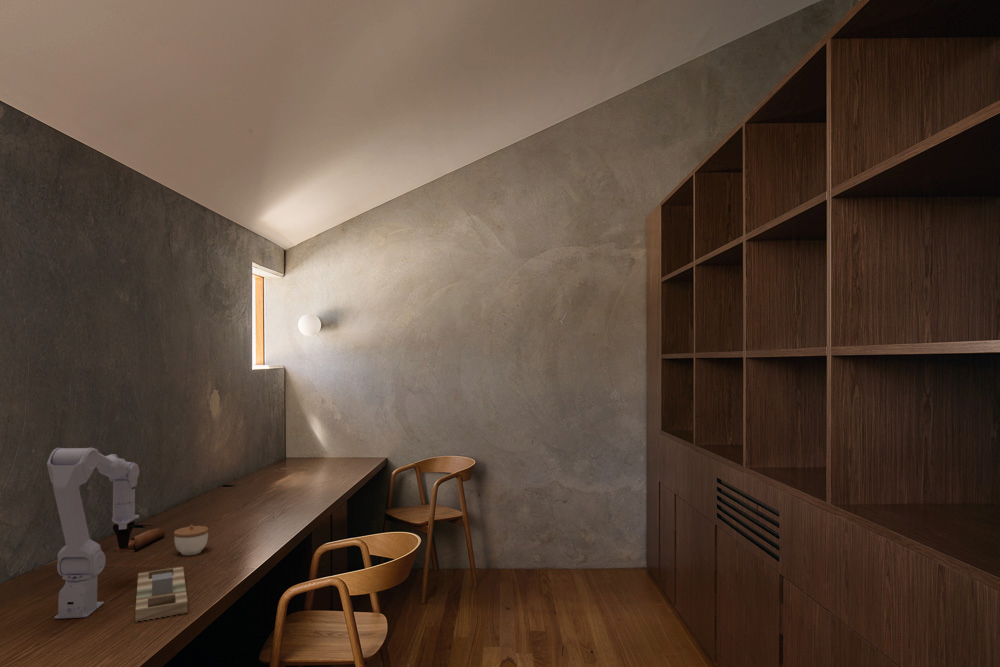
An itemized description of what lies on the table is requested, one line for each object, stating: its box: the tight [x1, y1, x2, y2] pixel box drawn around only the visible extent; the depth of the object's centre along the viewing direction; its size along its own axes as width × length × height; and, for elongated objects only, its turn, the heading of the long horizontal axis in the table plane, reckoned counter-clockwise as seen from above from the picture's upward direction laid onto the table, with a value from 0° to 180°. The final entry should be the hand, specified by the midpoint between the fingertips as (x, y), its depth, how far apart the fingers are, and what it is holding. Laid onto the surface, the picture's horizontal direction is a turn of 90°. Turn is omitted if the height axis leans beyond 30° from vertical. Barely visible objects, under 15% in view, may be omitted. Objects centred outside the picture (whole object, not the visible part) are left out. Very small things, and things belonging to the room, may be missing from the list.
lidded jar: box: [173, 524, 209, 556], centre depth 223 cm, size 11×11×9 cm
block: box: [152, 572, 173, 596], centre depth 179 cm, size 5×5×4 cm
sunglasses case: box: [115, 527, 166, 551], centre depth 232 cm, size 18×7×7 cm
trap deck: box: [134, 565, 189, 623], centre depth 182 cm, size 32×12×3 cm, turn 28°
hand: (123, 548), depth 194 cm, fingers closed
